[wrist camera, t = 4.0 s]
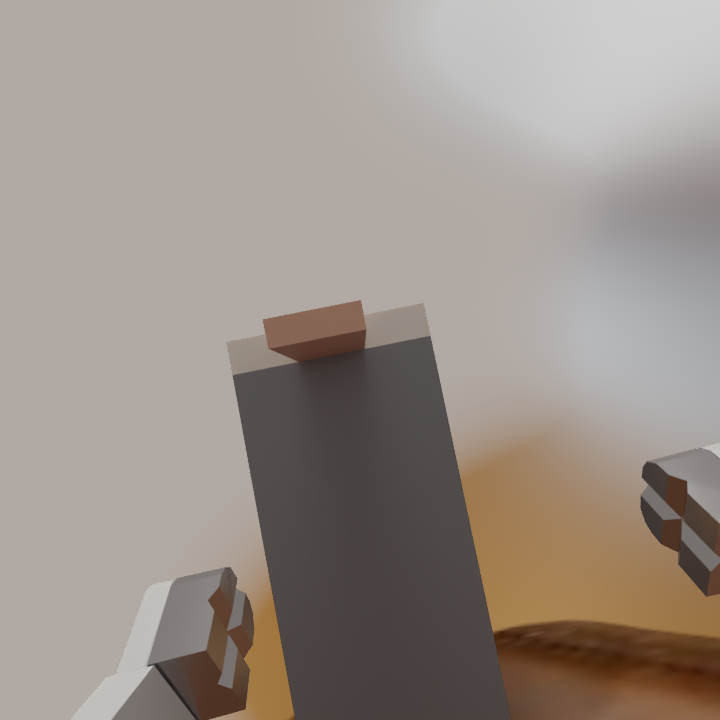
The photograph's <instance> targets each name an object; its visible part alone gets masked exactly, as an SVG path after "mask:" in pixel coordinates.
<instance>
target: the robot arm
mask: <svg viewBox="0 0 720 720" xmlns="http://www.w3.org/2000/svg"><path fill="white" fill-rule="evenodd" d="M642 478H643V479H644V480H645V481H646V482H647V483H648V484H649V485H648V486H647V488H646V489H645V490H644V491H643V493H642V494H641V511H642V514H643V517H644V519H645V522H646V524H647V526H648V527H649V529H650V530H651V532H652V534H653V535H654V536H655V537H656V538H657V540H658V541H659V542H660V543H661V544H662V545H664V546H666V547H669V548H670V549H673V550H675V551H677V552H678V564H679V565H680V567H681V568H682V569H683V570H684V571H685V573H686V574H687V575H688V576H689V577H690V578H691V579H692V581H693V582H694V583H695V584H696V585H697V586H698V588H699V589H700V590H701V591H702V592H703V593H704V594H705V596H712V595H716V594H720V443H717V444H713V445H710V446H706V447H702V448H699V449H694V450H689V451H685V452H682V453H678V454H674V455H671V456H666V457H663V458H659V459H655V460H651V461H647V462H646V464H645V465H644V467H643V471H642ZM236 584H237V577H236V576H235V574H234V572H233V571H232V569H231V568H230V567H229V568H221V569H217V570H212V571H208V572H203V573H199V574H194V575H190V576H185V577H181V578H177V579H174V580H169V581H165V582H160V583H156V584H152V585H151V586H150V587H149V588H148V589H147V591H146V592H145V594H144V596H143V599H142V602H141V605H140V607H139V610H138V613H137V616H136V618H135V621H134V624H133V627H132V629H131V632H130V635H129V638H128V641H127V643H126V646H125V649H124V652H123V654H122V657H121V660H120V663H119V665H118V668H117V671H116V674H115V675H111V676H108V677H106V679H105V680H104V681H103V682H102V683H101V684H100V685H99V687H98V688H97V689H96V690H95V691H94V693H93V694H92V695H91V696H90V697H89V698H88V699H87V701H86V702H85V703H84V704H83V705H82V706H81V707H80V709H79V710H78V711H77V712H76V713H75V715H74V716H73V717H72V718H71V719H70V720H209V719H212V718H216V717H219V716H223V715H227V714H230V713H234V712H238V711H241V710H245V708H246V700H247V691H248V682H249V673H250V669H249V667H248V666H247V664H246V662H245V660H244V657H245V656H246V654H247V653H248V651H249V650H250V648H251V647H252V645H253V636H254V623H253V622H254V621H253V612H252V608H251V605H250V602H249V600H248V597H247V595H246V594H245V593H244V592H242V591H240V590H238V589H236Z"/></svg>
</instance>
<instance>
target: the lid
mask: <svg viewBox="0 0 720 720" xmlns="http://www.w3.org/2000/svg"><path fill="white" fill-rule="evenodd" d="M263 323H264V328H265V333H266V335H261V336H256V337H251V338H246V339H241V340H236V341H230V342H227V347H228V352H229V358H230V363H231V369H232V374H233V375H236V374H241V373H246V372H251V371H256V370H261V369H266V368H271V367H276V366H281V365H286V364H291V363H296V362H301V361H306V360H311V359H316V358H321V357H326V356H331V355H336V354H341V353H346V352H351V351H356V350H361V349H366V348H372V347H377V346H382V345H387V344H392V343H397V342H402V341H407V340H412V339H417V338H422V337H427V336H430V332H429V327H428V322H427V318H426V313H425V308H424V304H417V305H413V306H407V307H402V308H397V309H392V310H388V311H382V312H378V313H372V314H367V315H364V314H363V309H362V304H361V301H360V300H359V301H355V302H349V303H345V304H339V305H334V306H330V307H324V308H319V309H314V310H309V311H304V312H299V313H294V314H289V315H284V316H279V317H273V318H268V319H263Z"/></svg>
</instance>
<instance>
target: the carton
mask: <svg viewBox="0 0 720 720" xmlns="http://www.w3.org/2000/svg"><path fill="white" fill-rule="evenodd" d="M233 380H234V385H235V391H236V396H237V401H238V407H239V412H240V418H241V423H242V429H243V435H244V440H245V445H246V451H247V457H248V462H249V468H250V473H251V478H252V483H253V488H254V489H253V490H254V495H255V501H256V506H257V512H258V517H259V523H260V528H261V534H262V539H263V544H264V550H265V556H266V561H267V567H268V572H269V578H270V583H271V589H272V594H273V600H274V605H275V611H276V616H277V621H278V627H279V632H280V637H281V644H282V648H283V655H284V660H285V665H286V671H287V676H288V682H289V688H290V693H291V699H292V704H293V709H294V715H295V720H511V717H510V712H509V708H508V703H507V698H506V693H505V689H504V684H503V679H502V674H501V670H500V665H499V660H498V655H497V650H496V646H495V641H494V636H493V631H492V627H491V622H490V617H489V613H488V608H487V603H486V598H485V593H484V589H483V584H482V579H481V574H480V570H479V565H478V560H477V555H476V551H475V546H474V541H473V536H472V532H471V527H470V522H469V517H468V512H467V508H466V503H465V498H464V493H463V489H462V484H461V479H460V474H459V470H458V465H457V460H456V455H455V451H454V446H453V441H452V437H451V432H450V427H449V422H448V418H447V413H446V408H445V403H444V398H443V394H442V389H441V384H440V380H439V374H438V370H437V365H436V360H435V356H434V351H433V346H432V341H431V337H430V336H427V337H422V338H417V339H412V340H407V341H402V342H397V343H392V344H387V345H382V346H377V347H372V348H366V349H361V350H356V351H351V352H346V353H341V354H336V355H331V356H326V357H321V358H316V359H311V360H306V361H301V362H296V363H291V364H286V365H281V366H276V367H271V368H266V369H261V370H256V371H251V372H246V373H241V374H236V375H233Z"/></svg>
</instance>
